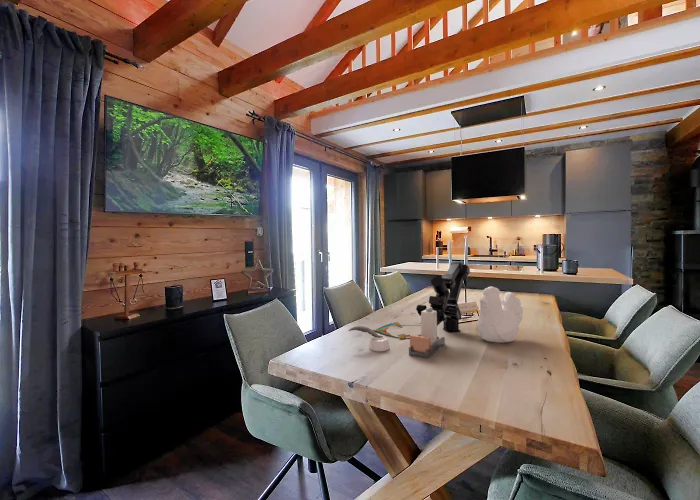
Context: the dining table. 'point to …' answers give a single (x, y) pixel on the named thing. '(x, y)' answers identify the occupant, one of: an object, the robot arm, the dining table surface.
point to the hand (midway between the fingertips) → (432, 328)
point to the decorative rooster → (499, 316)
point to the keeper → (429, 324)
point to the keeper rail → (433, 349)
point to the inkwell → (374, 339)
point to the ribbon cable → (383, 329)
